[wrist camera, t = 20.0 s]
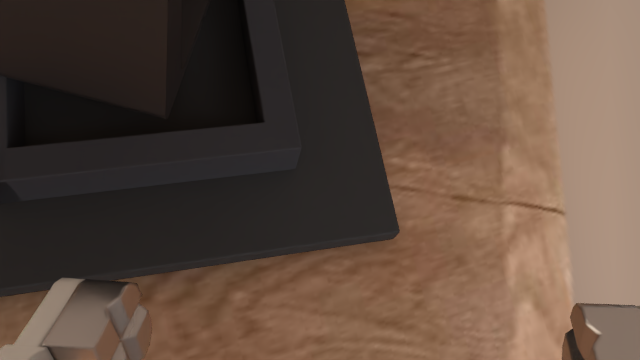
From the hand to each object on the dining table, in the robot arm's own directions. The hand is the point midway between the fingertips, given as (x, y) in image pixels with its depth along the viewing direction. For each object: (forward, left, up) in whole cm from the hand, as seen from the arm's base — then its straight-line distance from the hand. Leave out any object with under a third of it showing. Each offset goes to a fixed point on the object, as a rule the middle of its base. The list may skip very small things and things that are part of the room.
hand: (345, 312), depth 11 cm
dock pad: (+4, -14, -11) cm, 18 cm away
